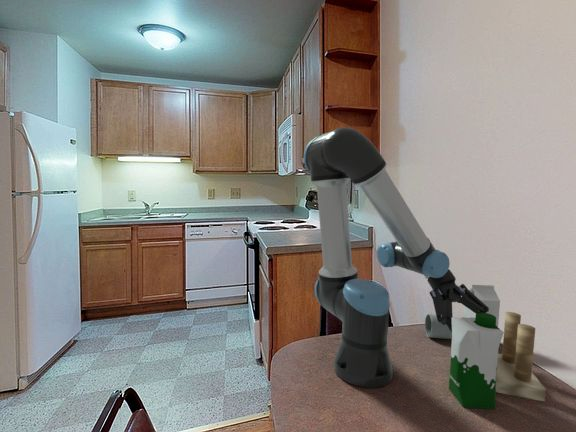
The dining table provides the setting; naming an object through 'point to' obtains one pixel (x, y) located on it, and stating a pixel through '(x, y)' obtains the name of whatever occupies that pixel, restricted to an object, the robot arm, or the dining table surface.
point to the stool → (518, 361)
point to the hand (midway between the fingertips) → (481, 340)
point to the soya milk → (474, 360)
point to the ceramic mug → (436, 328)
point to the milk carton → (485, 300)
